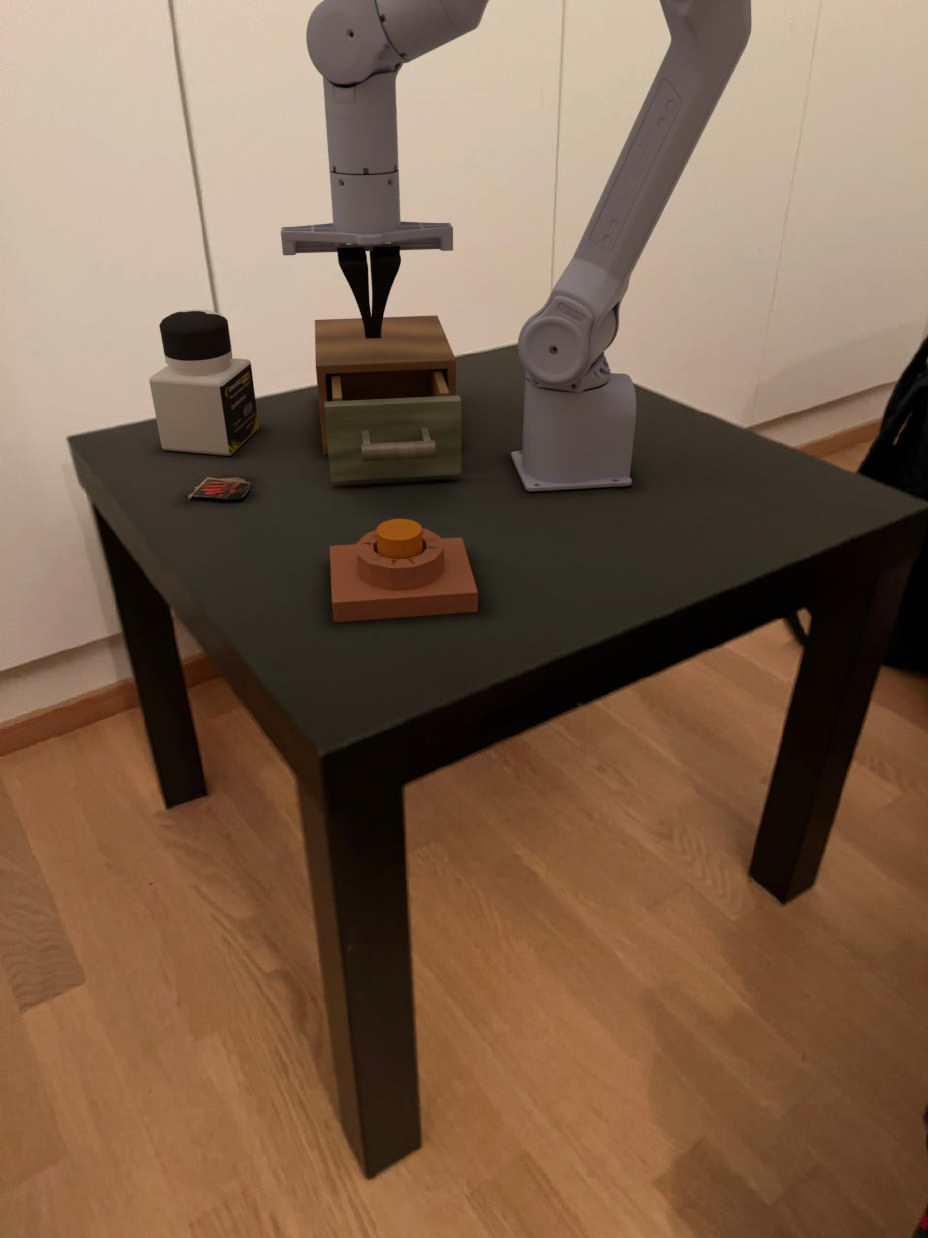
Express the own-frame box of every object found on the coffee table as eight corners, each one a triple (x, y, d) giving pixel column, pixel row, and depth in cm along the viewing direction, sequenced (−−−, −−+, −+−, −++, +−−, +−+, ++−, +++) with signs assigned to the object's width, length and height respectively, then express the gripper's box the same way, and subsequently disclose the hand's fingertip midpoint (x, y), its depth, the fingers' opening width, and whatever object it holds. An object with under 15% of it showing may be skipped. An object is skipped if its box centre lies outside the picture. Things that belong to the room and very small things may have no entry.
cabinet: (456, 448, 89) (456, 359, 84) (323, 455, 88) (315, 365, 83) (438, 395, 101) (437, 314, 96) (321, 400, 100) (314, 319, 95)
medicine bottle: (231, 457, 87) (212, 328, 81) (160, 451, 88) (136, 323, 82) (260, 428, 93) (245, 306, 86) (193, 423, 94) (173, 302, 88)
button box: (462, 556, 72) (462, 515, 70) (477, 612, 65) (478, 569, 63) (331, 565, 70) (327, 523, 69) (333, 623, 64) (329, 579, 62)
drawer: (469, 497, 78) (469, 420, 74) (332, 506, 77) (325, 427, 73) (442, 418, 93) (442, 350, 89) (328, 423, 92) (322, 355, 88)
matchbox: (248, 501, 79) (247, 496, 79) (186, 504, 79) (185, 499, 78) (252, 478, 83) (252, 473, 83) (194, 480, 83) (193, 475, 82)
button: (420, 538, 68) (419, 516, 67) (424, 560, 65) (424, 538, 64) (376, 541, 67) (374, 519, 66) (378, 563, 65) (377, 541, 64)
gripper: (273, 179, 73) (291, 352, 80) (457, 175, 74) (458, 345, 82) (276, 166, 79) (292, 328, 86) (446, 163, 80) (448, 322, 88)
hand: (372, 335), depth 84 cm, fingers closed
